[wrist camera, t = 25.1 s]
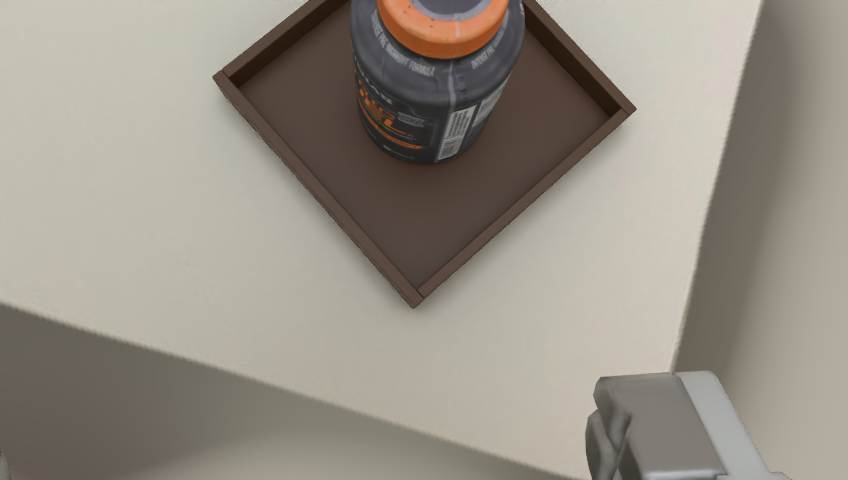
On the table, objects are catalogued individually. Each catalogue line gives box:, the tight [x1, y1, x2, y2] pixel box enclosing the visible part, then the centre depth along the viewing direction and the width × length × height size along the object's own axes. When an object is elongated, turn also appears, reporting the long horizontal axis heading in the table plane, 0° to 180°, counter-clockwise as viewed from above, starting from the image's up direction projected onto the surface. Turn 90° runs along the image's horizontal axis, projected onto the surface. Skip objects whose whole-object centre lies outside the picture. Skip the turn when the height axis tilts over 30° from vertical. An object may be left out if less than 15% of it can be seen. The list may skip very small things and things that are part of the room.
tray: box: [213, 0, 636, 308], centre depth 31 cm, size 13×13×2 cm
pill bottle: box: [350, 0, 525, 164], centre depth 26 cm, size 6×6×11 cm
